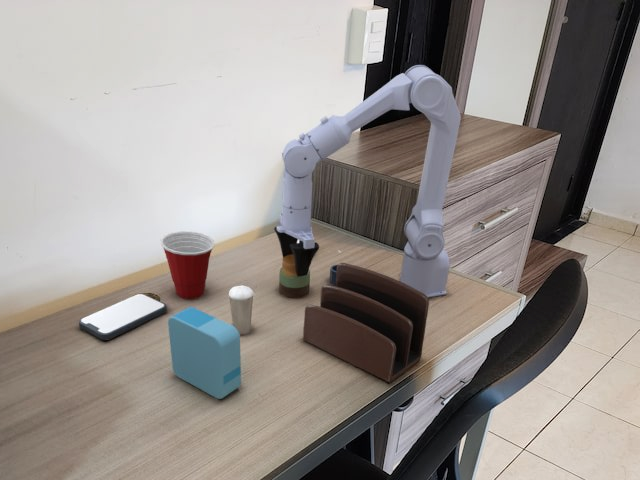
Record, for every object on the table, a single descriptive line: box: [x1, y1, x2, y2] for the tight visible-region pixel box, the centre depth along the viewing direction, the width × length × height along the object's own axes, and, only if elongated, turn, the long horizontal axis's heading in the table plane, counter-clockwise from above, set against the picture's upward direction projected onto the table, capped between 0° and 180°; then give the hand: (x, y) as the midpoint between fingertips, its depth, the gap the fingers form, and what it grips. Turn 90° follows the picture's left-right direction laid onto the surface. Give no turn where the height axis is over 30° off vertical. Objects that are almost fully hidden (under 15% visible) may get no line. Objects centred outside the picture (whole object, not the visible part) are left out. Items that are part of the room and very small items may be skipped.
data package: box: [167, 306, 242, 400], centre depth 101 cm, size 12×4×12 cm, turn 51°
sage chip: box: [279, 267, 311, 288], centre depth 130 cm, size 6×6×2 cm
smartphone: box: [78, 293, 168, 341], centre depth 121 cm, size 9×2×16 cm
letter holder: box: [302, 262, 430, 384], centre depth 110 cm, size 10×20×14 cm, turn 47°
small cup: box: [329, 263, 339, 286], centre depth 136 cm, size 4×4×3 cm
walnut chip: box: [278, 280, 311, 299], centre depth 132 cm, size 6×6×2 cm
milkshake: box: [228, 283, 259, 336], centre depth 116 cm, size 5×5×10 cm
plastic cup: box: [160, 230, 216, 300], centre depth 128 cm, size 11×11×12 cm
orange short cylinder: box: [281, 254, 298, 277], centre depth 129 cm, size 5×5×3 cm
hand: (295, 267), depth 129 cm, fingers open, 7 cm apart
